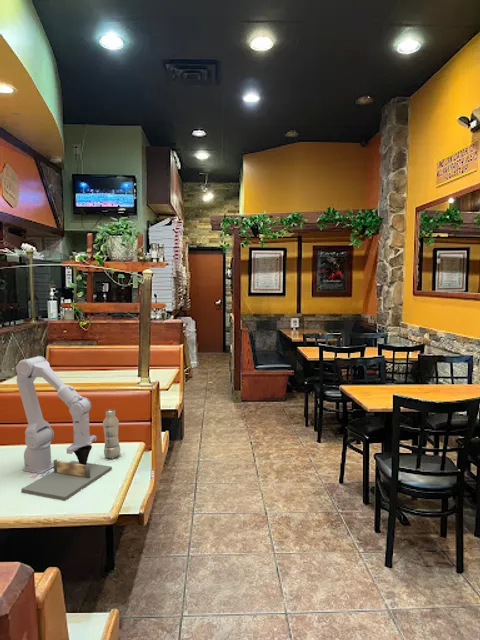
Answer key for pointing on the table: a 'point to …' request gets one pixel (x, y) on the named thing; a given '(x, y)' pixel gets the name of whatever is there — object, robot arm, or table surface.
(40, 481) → the gate board
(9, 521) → the table surface
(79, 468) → the board
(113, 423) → the plastic bottle
